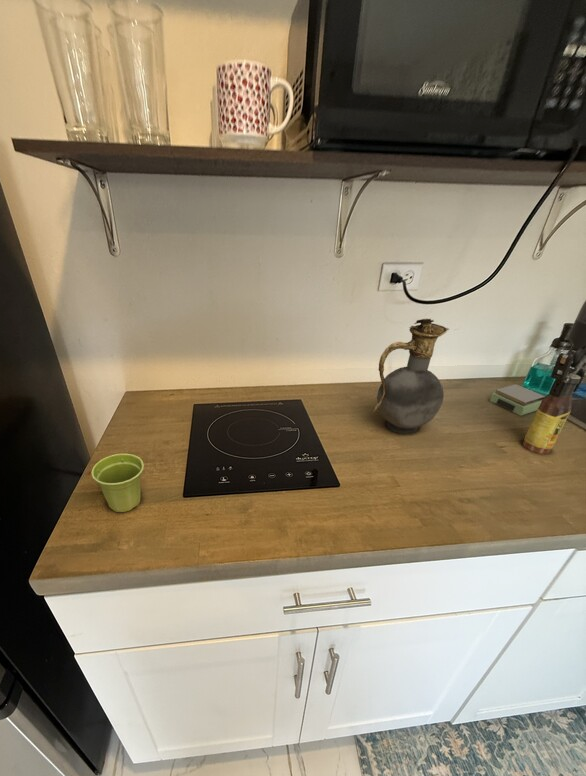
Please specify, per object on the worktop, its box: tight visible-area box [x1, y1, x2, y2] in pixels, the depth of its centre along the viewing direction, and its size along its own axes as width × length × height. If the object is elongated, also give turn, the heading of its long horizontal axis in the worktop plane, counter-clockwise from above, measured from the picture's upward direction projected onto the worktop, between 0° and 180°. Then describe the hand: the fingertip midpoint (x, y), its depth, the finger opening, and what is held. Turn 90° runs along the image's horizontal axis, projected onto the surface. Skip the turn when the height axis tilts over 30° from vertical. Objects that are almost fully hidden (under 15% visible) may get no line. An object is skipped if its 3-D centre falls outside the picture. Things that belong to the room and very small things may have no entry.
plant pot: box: [91, 453, 145, 513], centre depth 76 cm, size 9×9×9 cm
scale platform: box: [494, 383, 546, 405], centre depth 116 cm, size 9×9×1 cm
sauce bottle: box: [522, 374, 581, 455], centre depth 93 cm, size 7×6×20 cm
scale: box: [489, 392, 542, 416], centre depth 117 cm, size 10×10×3 cm
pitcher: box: [372, 318, 450, 435], centre depth 96 cm, size 11×19×30 cm, turn 108°
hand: (562, 392), depth 90 cm, fingers open, 5 cm apart
